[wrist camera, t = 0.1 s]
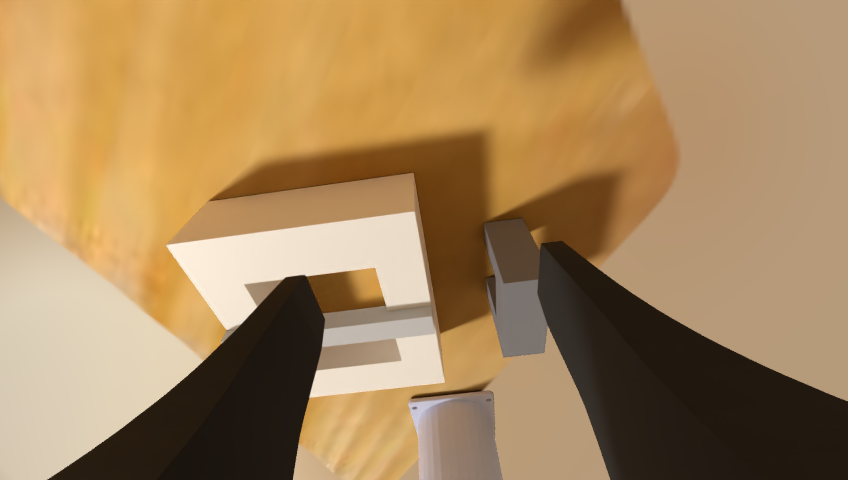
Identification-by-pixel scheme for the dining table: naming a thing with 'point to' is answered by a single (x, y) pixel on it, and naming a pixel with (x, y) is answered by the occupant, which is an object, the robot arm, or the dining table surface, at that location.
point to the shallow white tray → (322, 254)
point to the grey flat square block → (515, 288)
